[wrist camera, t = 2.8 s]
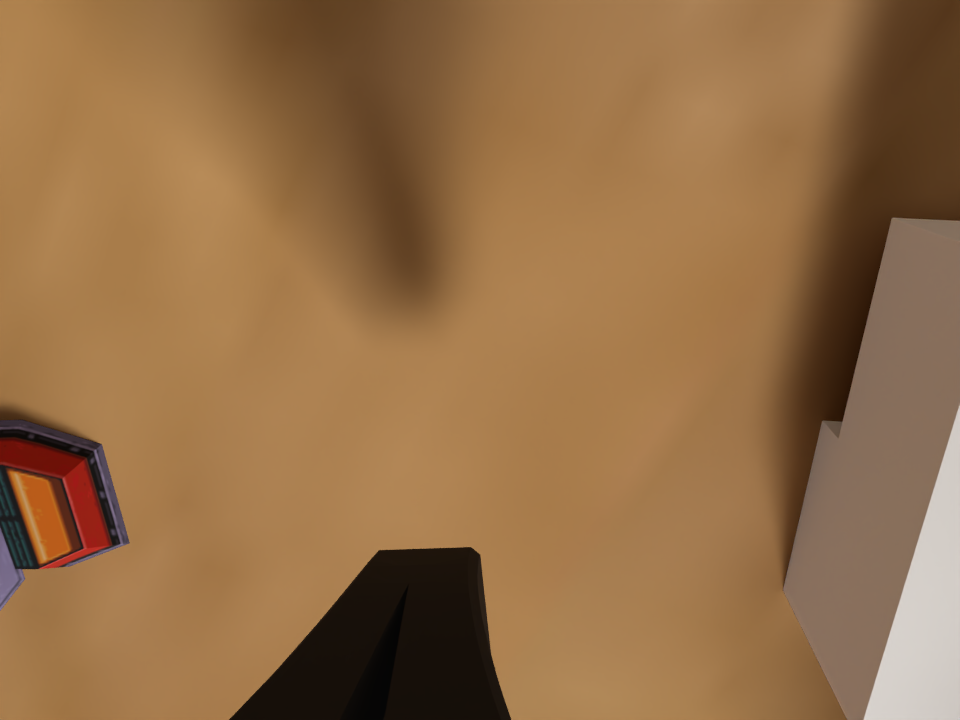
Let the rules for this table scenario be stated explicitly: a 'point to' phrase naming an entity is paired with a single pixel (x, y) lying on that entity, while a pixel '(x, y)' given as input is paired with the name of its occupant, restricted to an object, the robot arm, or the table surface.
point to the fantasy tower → (52, 502)
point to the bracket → (891, 497)
